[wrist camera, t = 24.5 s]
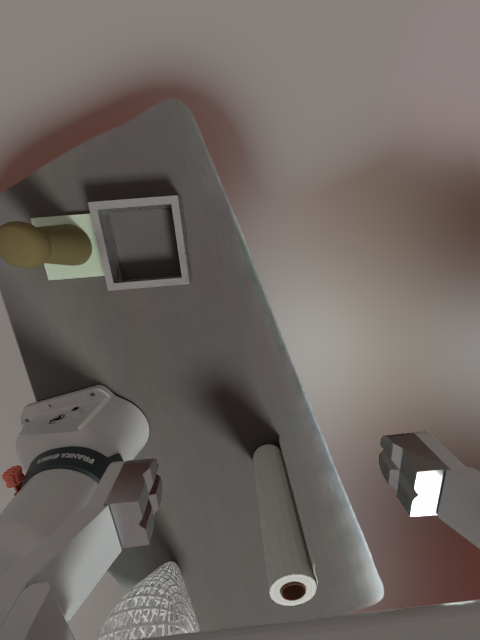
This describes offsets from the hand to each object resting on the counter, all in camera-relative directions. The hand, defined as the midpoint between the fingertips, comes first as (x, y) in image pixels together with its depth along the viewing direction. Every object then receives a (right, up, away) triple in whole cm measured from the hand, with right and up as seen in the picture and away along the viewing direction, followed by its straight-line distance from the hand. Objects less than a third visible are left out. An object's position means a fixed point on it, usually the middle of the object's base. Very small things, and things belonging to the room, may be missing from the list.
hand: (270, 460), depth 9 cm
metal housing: (-15, +17, +30) cm, 38 cm away
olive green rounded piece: (-26, +16, +29) cm, 43 cm away
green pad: (-27, +16, +30) cm, 43 cm away
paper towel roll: (+5, -22, +43) cm, 49 cm away
